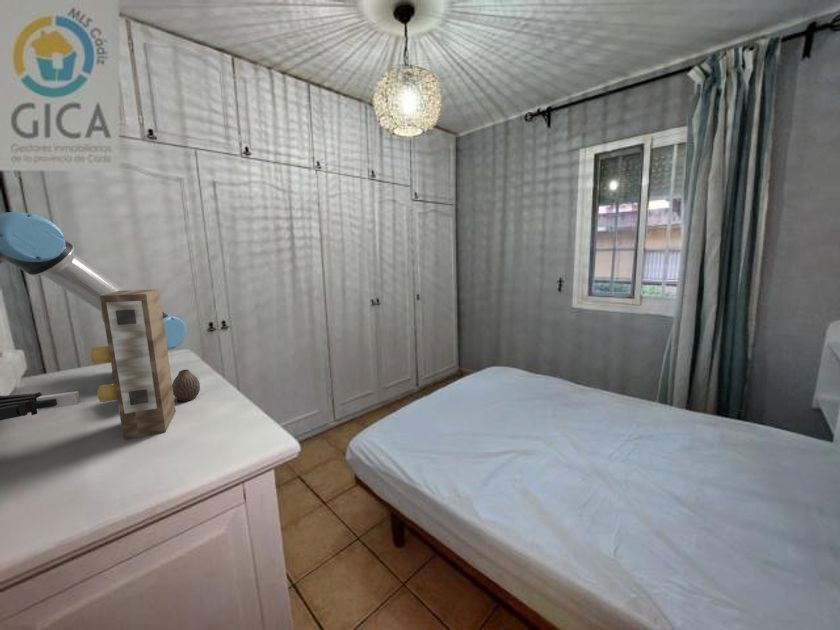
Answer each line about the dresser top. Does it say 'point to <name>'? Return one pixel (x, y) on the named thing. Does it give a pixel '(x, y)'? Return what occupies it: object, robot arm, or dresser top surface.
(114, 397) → the button low
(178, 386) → the vase
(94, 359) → the button mid
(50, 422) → the dresser top surface
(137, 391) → the button column
